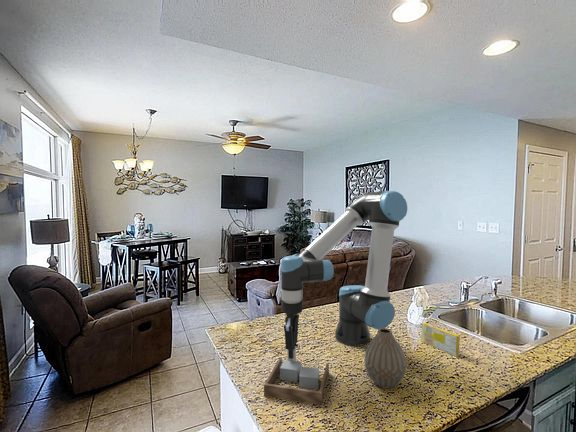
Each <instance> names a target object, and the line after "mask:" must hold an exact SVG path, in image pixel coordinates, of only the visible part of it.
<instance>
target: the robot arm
mask: <svg viewBox="0 0 576 432" xmlns="http://www.w3.org/2000/svg"><path fill="white" fill-rule="evenodd" d="M407 214H408V202H407V201H406V199H405V197H404V196H403V194H402V193H400V192H398V191H394V190H382V191H371V192H370V191H369V192H366V193H364V194H362V195H361V196H359V197H357V198H356V199H355V200H354V201H353V202H352V203H350V204H349V205H348V206H347V207H345V210H344V213H342V215H340V217H338V218H337V219H336V220H335V221H334V222H333V223H332V224H331V225H330V226H328V227H327V229H326V230H324V231H323V232H322V233H321V234H320V235H319V236H318V237H316V238H315V239H314V240H313V241H312V242H311V243H310V244H309V245H308V246H307V247H306V248H304V249H303V250H302V251H301V252H300V253H295V254H292V255H288V256H287V255H286V256H284V257H282V259H281V266H280V267H281V269H280V275H281V277H280V279H281V288H280V290H279V293H280V294H281V302H280V305H281V306H280V307H281V309H280V311H281V312H282V313H283V314H286V316H285V319H284V323H285V324H284V325H283V332H284V339H285V341H284V342H285V348H284V349H285V350H286V351H287V360H293V361H297V347H298V348H299V344H298V336H299V334H298V332H299V319H300V315H299V314H301V313H302V312H303V294H304V293H303V287H304V286H303V285H304V284H303V283H305V284H306V283H314V282H316V283H317V282H324V281H329V280H331V279H333V277H334V274H335V273H334V272H335V270H334V265H333V263H332V262H331V261H330V259H323V258H325V256H326V255H327V254H329V252H331V250H332V249H334V248H335V247H336V246H337V245H338V244H339V243H340V242H341V241H342V240H343V239H344V238H345V237H346V236H348V235H349V234H350V233H351V232H352V231H353V230H354V229H355V228H356V227H358V226H362V225H363V224H364V223H365V222H367V221H368V224H369V226H371V235H370V243H369V250H368V258H367V259H368V260H367V267H366V275H365V284H364V285H355V284H354V285H343V286H341V287H340V288H339V293H338V297H339V299H338V300H339V301H338V303H339V306H338V307H339V309H338V310H339V311H338V312H339V313H338V315H339V316H338V318H339V319H338V322H337V325H336V329H335V332H334V333H335V335H334V336H335V339H336V341H338V342H339V343H342V344H343V345H347V346H363V345H368V344H369V343H370V341H371V333H370V330H369V328H372V329H375V330H378V329H380V328H388V326H389V325H391V324H392V323H393V320H394V318H395V315H396V314H395V313H396V309H395V306H394V305H393V303H392V302H391V301H390V299H391V294H390V292H389V291H388V284H389V276H390V270H391V269H390V267H391V262H392V261H391V260H392V254H393V253H392V252H393V251H392V250H393V246H394V245H393V242H394V235H395V230H396V229H398V228H399V226H400V221H402V220H404V218H405V217H406V215H407Z"/></svg>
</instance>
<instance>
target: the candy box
mask: <svg viewBox="0 0 576 432" xmlns="http://www.w3.org/2000/svg"><path fill="white" fill-rule="evenodd" d="M460 337H461V336H460V335H458V334H456V333H454V332H451V331H448V330H446V329H442V328H440V327H437V326H435V325H433V324H430V323H427V322H421V342H422V343H425V344H426V345H429V346H431V347H433V348H436V349H437V350H440V351H442V352H444V353H446V354H448V355H451V356H452V357H455V358H458V357H460V342H461V341H460Z"/></svg>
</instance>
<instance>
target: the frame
mask: <svg viewBox="0 0 576 432" xmlns="http://www.w3.org/2000/svg"><path fill="white" fill-rule="evenodd" d="M282 364H283V357H280V356H279V358H278V360H277V361H276V363H275V365H274V367H273V369H272V371H271V372H270V373H269V376H268V377H267V379H266V381H265V382H264V384H263V397H268V398H274V399H280V400H287V401H294V402H299V403H304V404H312V405H317V406H322V405H323V404H322V403H323V399H324V396H325V392H326V388H327V382H328V378H329V374H330V363H328V362H327V363H326V364H325V368H324V372H323V376H322V380H321V382H320V388H319V389H318V390H315V389H305V388H299V387H294V386H288V385H287V386H286V385H280V384H274V383H275V381H276V380H277V377H278V375H280V367H281V365H282Z"/></svg>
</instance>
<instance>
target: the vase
mask: <svg viewBox="0 0 576 432" xmlns="http://www.w3.org/2000/svg"><path fill="white" fill-rule="evenodd" d="M363 362H364V368H365V371H366V373H367V375H368V377H369V378H370V380H371V381H372V382H373V383H374V384H375V385H376V386H378V387H381V388H385V389H392V388H394V387H396V386H397V385H399V384H400V383H401V382H402V381H403V379H404V378H405V375H406V370H407V359H406V356H405V352H404V350H403V348H402V346H401V345H400V343H399V341H398V340H397V339H396V337H394V334H393V331H392V329H390V328H388V327H386V328H380V329H377V333H376V334H375V336H374V337H373V338H372V339H370V341H369V343H367V347H366V349H365V353H364V361H363Z"/></svg>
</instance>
